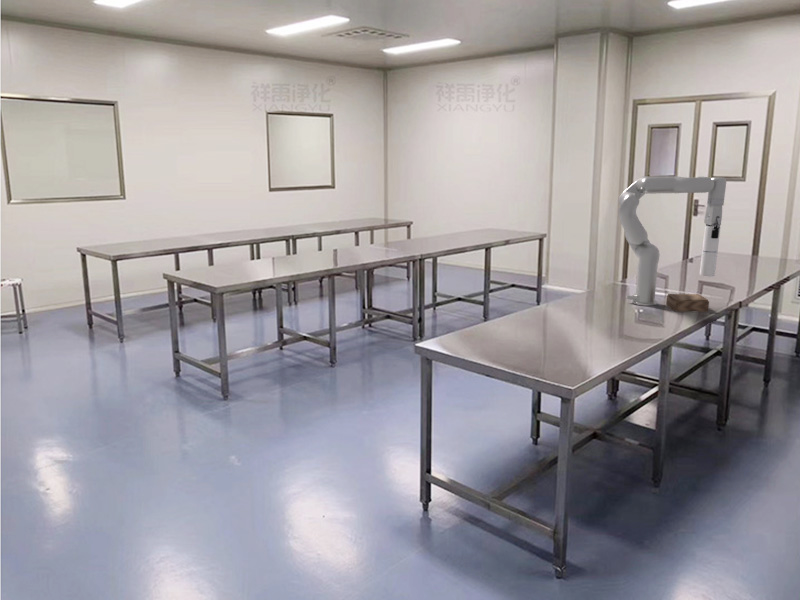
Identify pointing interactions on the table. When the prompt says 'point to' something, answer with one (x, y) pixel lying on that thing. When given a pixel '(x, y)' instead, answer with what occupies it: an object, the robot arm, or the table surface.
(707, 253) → the cylindrical container
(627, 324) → the table surface
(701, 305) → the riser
